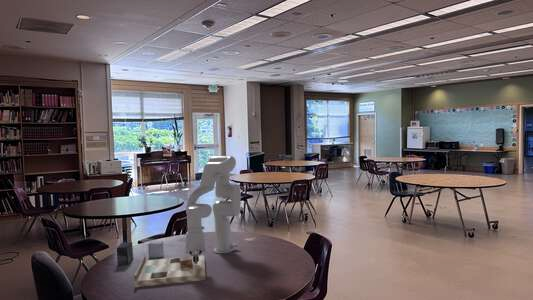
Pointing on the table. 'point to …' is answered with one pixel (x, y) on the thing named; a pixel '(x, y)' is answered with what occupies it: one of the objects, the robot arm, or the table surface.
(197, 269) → the box
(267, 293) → the table surface
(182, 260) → the walnut block
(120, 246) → the small box
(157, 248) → the medicine box
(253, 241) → the table surface
